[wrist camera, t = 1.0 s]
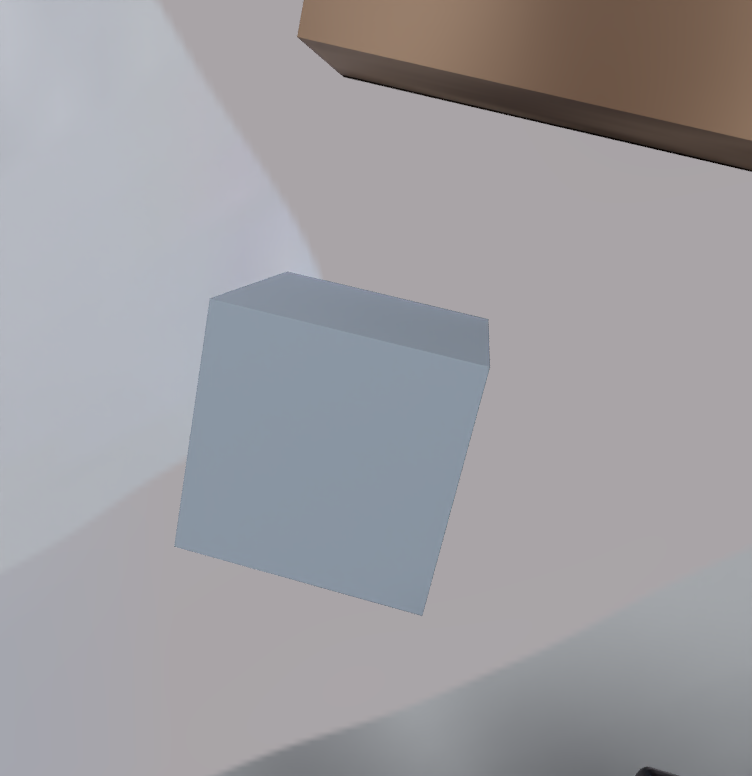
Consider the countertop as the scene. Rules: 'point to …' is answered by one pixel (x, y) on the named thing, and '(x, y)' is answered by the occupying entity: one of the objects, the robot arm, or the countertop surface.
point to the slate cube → (331, 435)
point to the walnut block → (561, 63)
